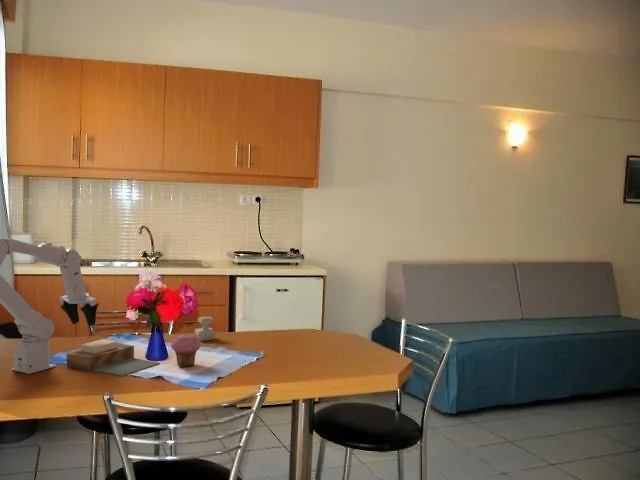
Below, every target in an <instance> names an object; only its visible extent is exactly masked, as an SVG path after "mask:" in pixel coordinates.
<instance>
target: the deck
mask: <svg viewBox="0 0 640 480" xmlns="http://www.w3.org/2000/svg"><path fill="white" fill-rule="evenodd" d="M129 358H135V346H134V345H133V344H132V345H130V344H125V343H118V342H117V348H113V349H109V350H106V351H102V352H98V353H89V352H84V351H81V349H79V350H76V351H72V352H68V353H66V367H69V368H72V369H76V370H77V369H78V370H83V371H86V372H87V371H88V372H90V371H92V372H93V370H92V369H95V368H99V367H102V366H106V365H109V364H112V363H116V362H119V361H122V360H126V359H129Z"/></svg>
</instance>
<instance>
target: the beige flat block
mask: <svg viewBox="0 0 640 480" xmlns="http://www.w3.org/2000/svg"><path fill="white" fill-rule="evenodd" d="M117 343H118V341H117V340H111V339H106V338H103V339H98V340H94V341H90V342H86V343H82V344H80V350H81V351H84V352H89V353H98V352H102V351H106V350H109V349H113V348H117Z"/></svg>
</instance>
